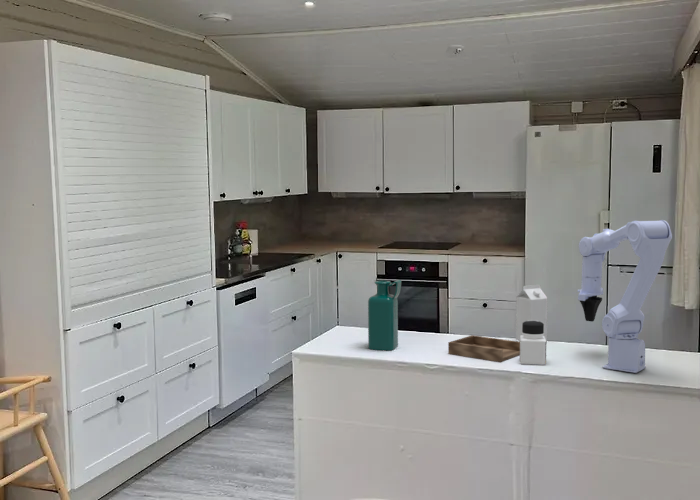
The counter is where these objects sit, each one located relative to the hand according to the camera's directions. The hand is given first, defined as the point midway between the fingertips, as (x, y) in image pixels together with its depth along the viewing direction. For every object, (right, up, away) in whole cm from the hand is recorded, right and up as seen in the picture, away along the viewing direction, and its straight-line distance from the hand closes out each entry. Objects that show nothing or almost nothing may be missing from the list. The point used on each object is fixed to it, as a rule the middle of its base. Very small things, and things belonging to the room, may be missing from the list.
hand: (589, 320), depth 214 cm
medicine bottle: (-19, -12, -8) cm, 24 cm away
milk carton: (-13, -9, +20) cm, 25 cm away
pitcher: (-62, -10, +13) cm, 64 cm away
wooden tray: (-31, -11, +3) cm, 33 cm away
